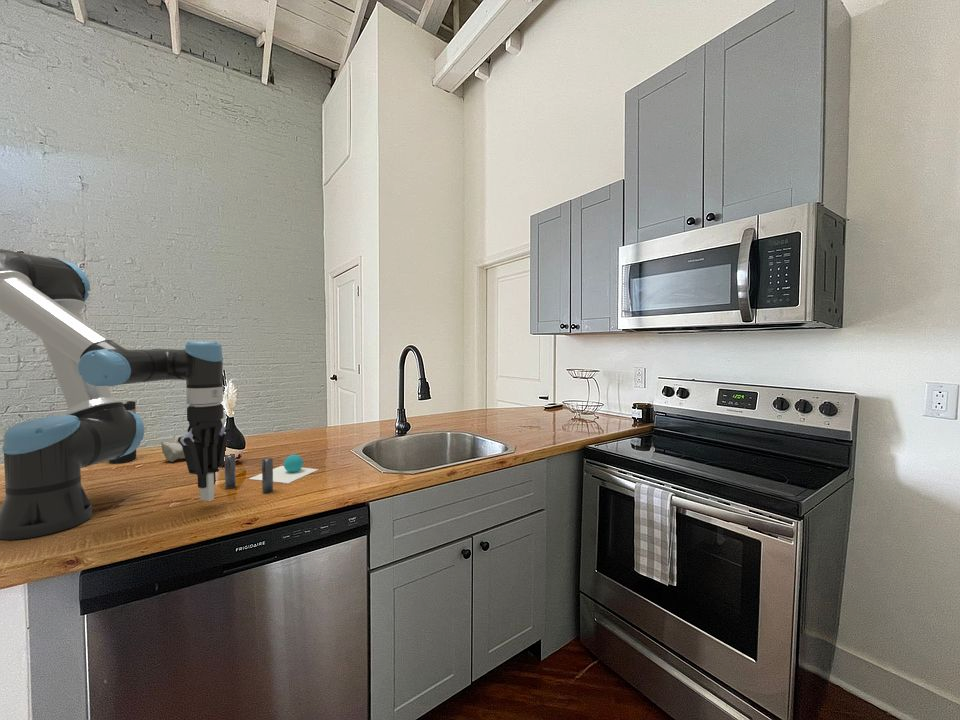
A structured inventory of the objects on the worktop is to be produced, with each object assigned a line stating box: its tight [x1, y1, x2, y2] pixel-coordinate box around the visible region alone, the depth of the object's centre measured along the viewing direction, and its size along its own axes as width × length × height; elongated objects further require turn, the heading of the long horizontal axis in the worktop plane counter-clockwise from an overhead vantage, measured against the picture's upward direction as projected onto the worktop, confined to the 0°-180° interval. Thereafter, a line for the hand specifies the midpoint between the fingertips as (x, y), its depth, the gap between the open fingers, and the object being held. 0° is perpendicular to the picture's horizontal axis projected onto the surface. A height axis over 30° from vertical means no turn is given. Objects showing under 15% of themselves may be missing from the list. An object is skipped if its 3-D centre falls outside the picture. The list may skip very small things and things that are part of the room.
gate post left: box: [224, 454, 237, 490], centre depth 119 cm, size 3×3×9 cm
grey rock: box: [160, 435, 194, 463], centre depth 148 cm, size 11×9×15 cm
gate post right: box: [261, 457, 274, 494], centre depth 115 cm, size 3×3×9 cm
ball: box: [283, 454, 304, 473], centre depth 133 cm, size 6×6×6 cm
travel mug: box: [108, 400, 137, 465], centre depth 144 cm, size 8×8×20 cm
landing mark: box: [248, 465, 319, 485], centre depth 131 cm, size 14×14×1 cm
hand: (207, 499), depth 105 cm, fingers closed
